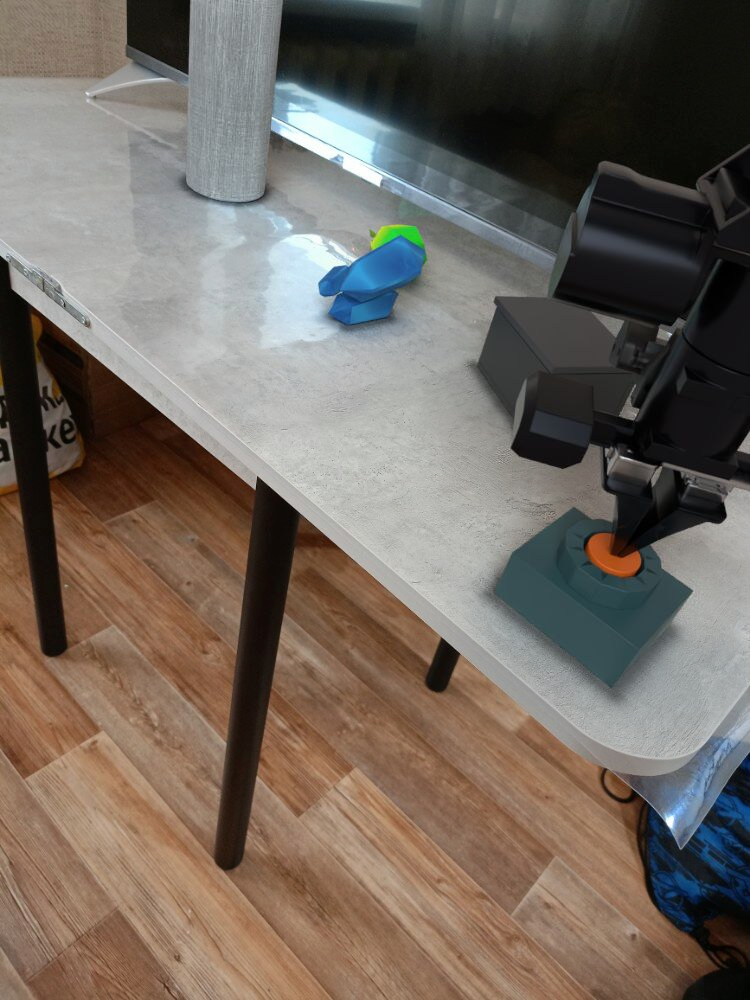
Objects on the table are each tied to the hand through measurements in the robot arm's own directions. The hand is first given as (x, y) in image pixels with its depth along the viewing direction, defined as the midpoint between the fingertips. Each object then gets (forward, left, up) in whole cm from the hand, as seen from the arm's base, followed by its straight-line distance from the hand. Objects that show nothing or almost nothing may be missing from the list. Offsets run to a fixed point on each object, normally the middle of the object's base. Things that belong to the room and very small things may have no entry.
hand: (615, 551), depth 50 cm
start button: (0, 0, -2) cm, 2 cm away
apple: (+24, -45, -6) cm, 51 cm away
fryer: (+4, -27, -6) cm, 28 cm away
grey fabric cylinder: (+48, -56, -6) cm, 74 cm away
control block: (0, 0, -6) cm, 6 cm away
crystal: (+24, -33, -6) cm, 41 cm away
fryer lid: (+4, -27, +1) cm, 28 cm away
